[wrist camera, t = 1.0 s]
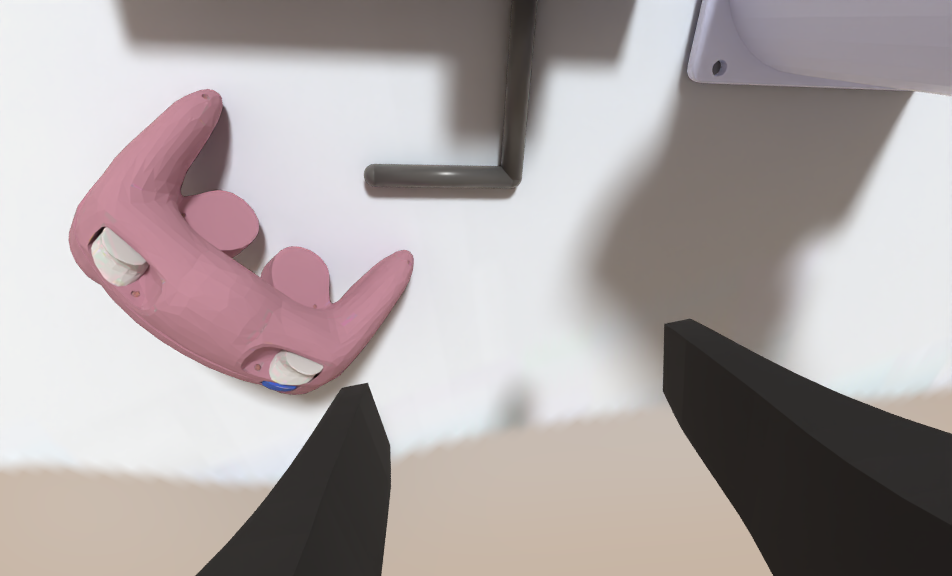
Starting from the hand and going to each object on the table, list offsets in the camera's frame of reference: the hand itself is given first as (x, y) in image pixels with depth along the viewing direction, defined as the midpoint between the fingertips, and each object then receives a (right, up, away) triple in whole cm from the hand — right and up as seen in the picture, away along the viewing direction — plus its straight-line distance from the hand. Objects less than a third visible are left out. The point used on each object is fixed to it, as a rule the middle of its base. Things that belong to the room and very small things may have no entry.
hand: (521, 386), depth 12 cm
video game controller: (-9, +5, +8) cm, 12 cm away
